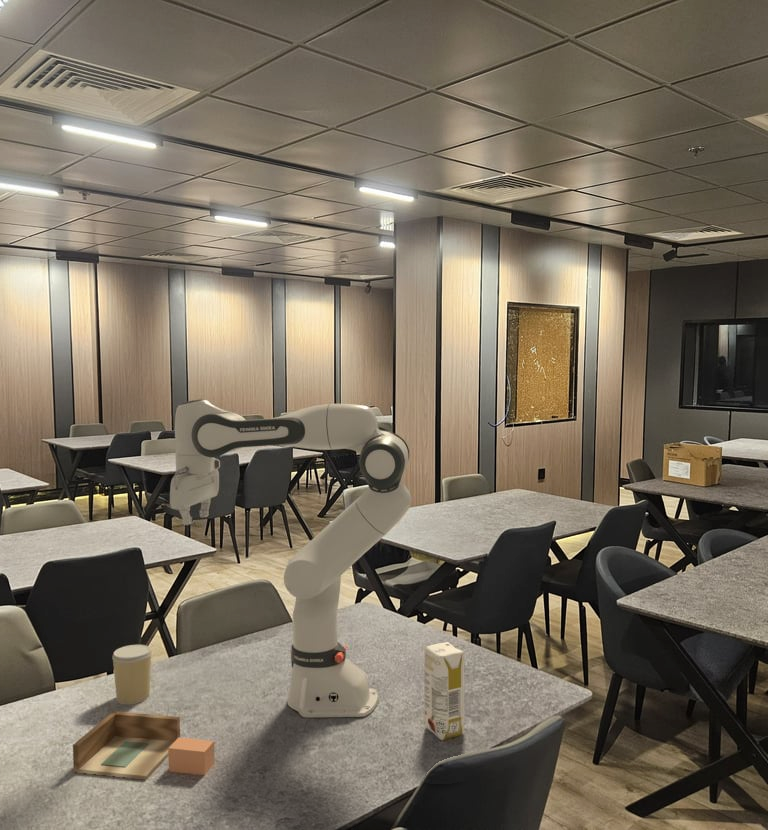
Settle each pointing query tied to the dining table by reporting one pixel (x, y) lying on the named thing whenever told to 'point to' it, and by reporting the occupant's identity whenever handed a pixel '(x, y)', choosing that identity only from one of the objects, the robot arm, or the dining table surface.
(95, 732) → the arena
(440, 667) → the juice carton
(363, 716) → the robot arm
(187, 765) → the brick
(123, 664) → the coffee cup
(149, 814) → the dining table surface
